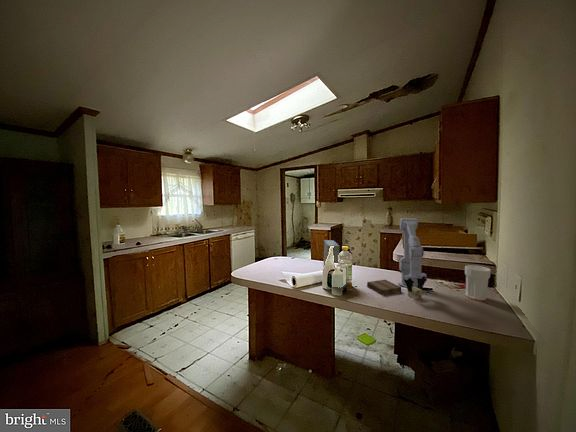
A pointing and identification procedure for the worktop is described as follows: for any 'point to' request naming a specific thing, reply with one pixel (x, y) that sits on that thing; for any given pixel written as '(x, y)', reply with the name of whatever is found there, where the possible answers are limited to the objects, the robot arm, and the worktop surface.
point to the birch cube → (415, 293)
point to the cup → (477, 282)
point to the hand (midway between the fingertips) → (414, 290)
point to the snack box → (326, 249)
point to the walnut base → (384, 287)
